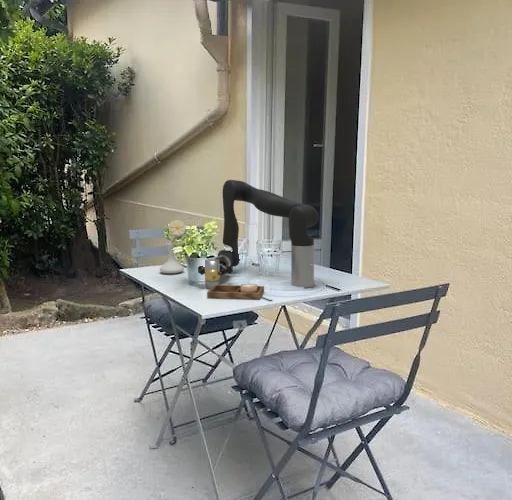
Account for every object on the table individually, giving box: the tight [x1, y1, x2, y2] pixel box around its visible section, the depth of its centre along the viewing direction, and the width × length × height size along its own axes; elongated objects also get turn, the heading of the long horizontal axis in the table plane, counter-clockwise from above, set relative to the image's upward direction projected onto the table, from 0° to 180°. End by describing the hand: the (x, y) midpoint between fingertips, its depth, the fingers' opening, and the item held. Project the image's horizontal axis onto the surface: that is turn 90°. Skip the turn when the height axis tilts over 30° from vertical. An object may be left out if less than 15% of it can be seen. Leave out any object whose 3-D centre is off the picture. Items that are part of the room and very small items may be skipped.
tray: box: [206, 284, 265, 301], centre depth 210 cm, size 20×12×3 cm, turn 81°
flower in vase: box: [159, 219, 187, 274], centre depth 254 cm, size 13×11×25 cm
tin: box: [204, 258, 221, 291], centre depth 222 cm, size 6×6×12 cm
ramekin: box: [240, 282, 258, 293], centre depth 209 cm, size 6×6×4 cm
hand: (211, 272), depth 221 cm, fingers open, 8 cm apart
